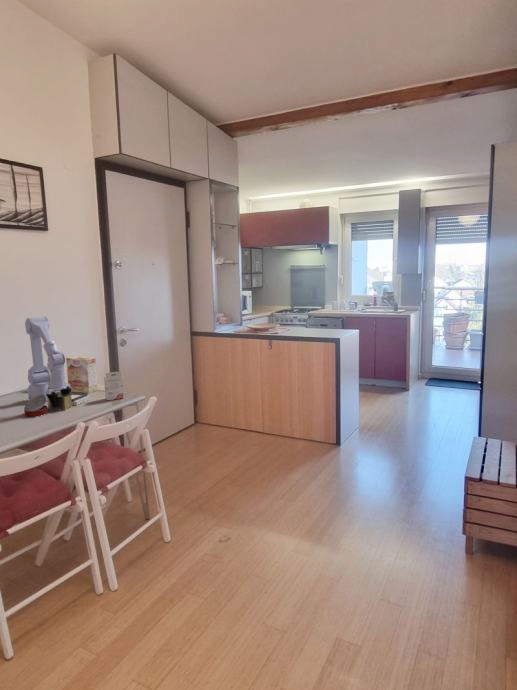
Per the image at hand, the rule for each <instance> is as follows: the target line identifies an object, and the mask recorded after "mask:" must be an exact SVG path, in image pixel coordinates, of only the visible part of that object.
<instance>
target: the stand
mask: <svg viewBox="0 0 517 690" xmlns="http://www.w3.org/2000/svg"><path fill="white" fill-rule="evenodd" d="M69 395H71V398H72V406H79V405H81V404H80V403H82V404H84V403H86V402H85V401H87V400H89V401H90V399H91V395H88V393H83V394H82V395H78V394H74V392H70V394H69ZM91 400H92V399H91ZM83 402H84V403H83ZM87 402H88V401H87ZM78 404H79V405H78Z"/></svg>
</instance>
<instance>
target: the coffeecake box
mask: <svg viewBox="0 0 517 690" xmlns="http://www.w3.org/2000/svg"><path fill="white" fill-rule="evenodd" d="M65 362H66V371H67V372H66V374H67V383H69V384H70V388H71V392H70V393H79V392H84V393H83V394H88V393H90V394H92V393H95V392H97V391H98V381H97V380H98V379H97V366H96V357H92V356H82V355H81V356H80V355H79V356H78V355H73V356H68V357H66V358H65ZM94 391H95V392H94ZM91 392H92V393H91Z"/></svg>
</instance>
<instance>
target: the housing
mask: <svg viewBox="0 0 517 690" xmlns="http://www.w3.org/2000/svg"><path fill="white" fill-rule="evenodd" d="M57 394H58V397H57V407H52V405H51V402H50V400H49V398H48V397H47V401H46V402H47V409H48V408H49V409H48V410H54V409H61V410H60V411H67V410H70V409H72V408H73V405H72V398H71V395H67V394H61V393H57ZM71 407H72V408H71ZM69 408H70V409H69ZM66 409H67V410H66Z"/></svg>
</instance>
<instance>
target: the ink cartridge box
mask: <svg viewBox="0 0 517 690" xmlns="http://www.w3.org/2000/svg"><path fill="white" fill-rule="evenodd" d="M104 376H105V377H103V379H104V380H103V381H104V394H105V397H104V398H105V400H106V399H107V400H109V401H114V399H116V400H121V399H120V398H123V399H124V387H123V384H124V383H123V375H122V371H112V372H106V373H105V375H104ZM107 400H106V401H107Z"/></svg>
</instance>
